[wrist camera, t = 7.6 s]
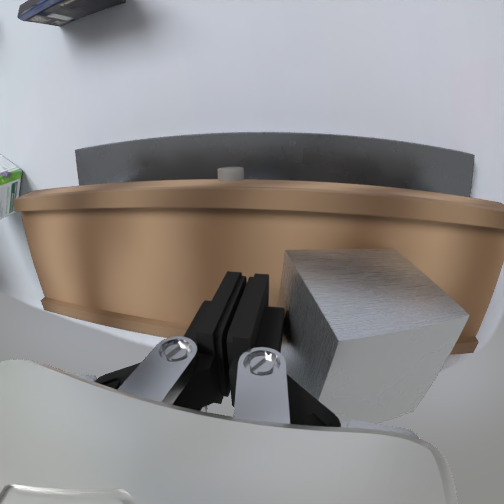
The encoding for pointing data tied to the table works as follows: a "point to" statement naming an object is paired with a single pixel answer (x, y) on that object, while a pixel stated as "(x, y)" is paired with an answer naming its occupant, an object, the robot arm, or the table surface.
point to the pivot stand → (280, 160)
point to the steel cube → (364, 330)
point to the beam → (242, 242)
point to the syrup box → (8, 186)
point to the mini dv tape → (61, 10)
